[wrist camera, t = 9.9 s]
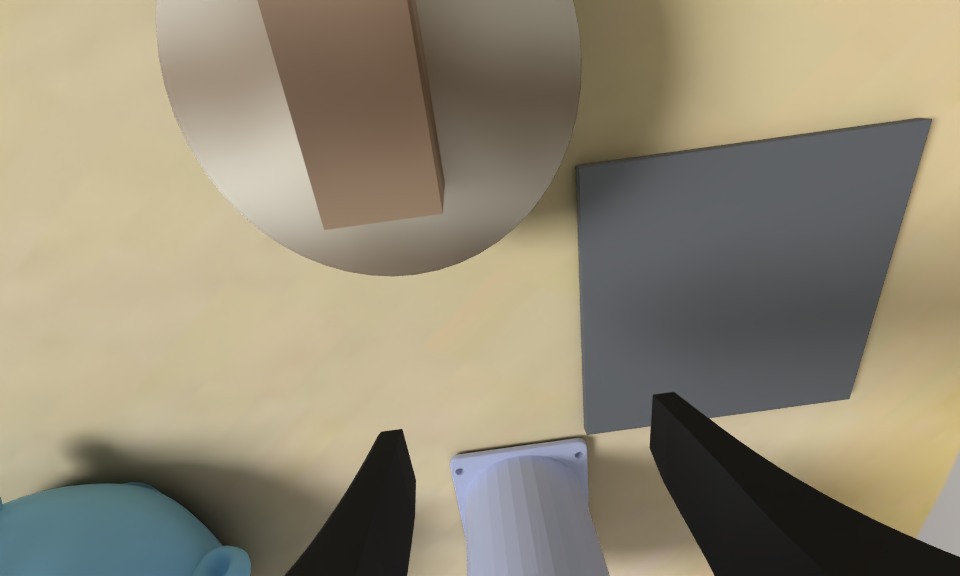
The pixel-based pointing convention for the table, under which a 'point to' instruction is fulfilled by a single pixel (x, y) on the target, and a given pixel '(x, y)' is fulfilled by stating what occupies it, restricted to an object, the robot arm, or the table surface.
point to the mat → (737, 270)
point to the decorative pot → (110, 535)
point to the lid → (375, 119)
